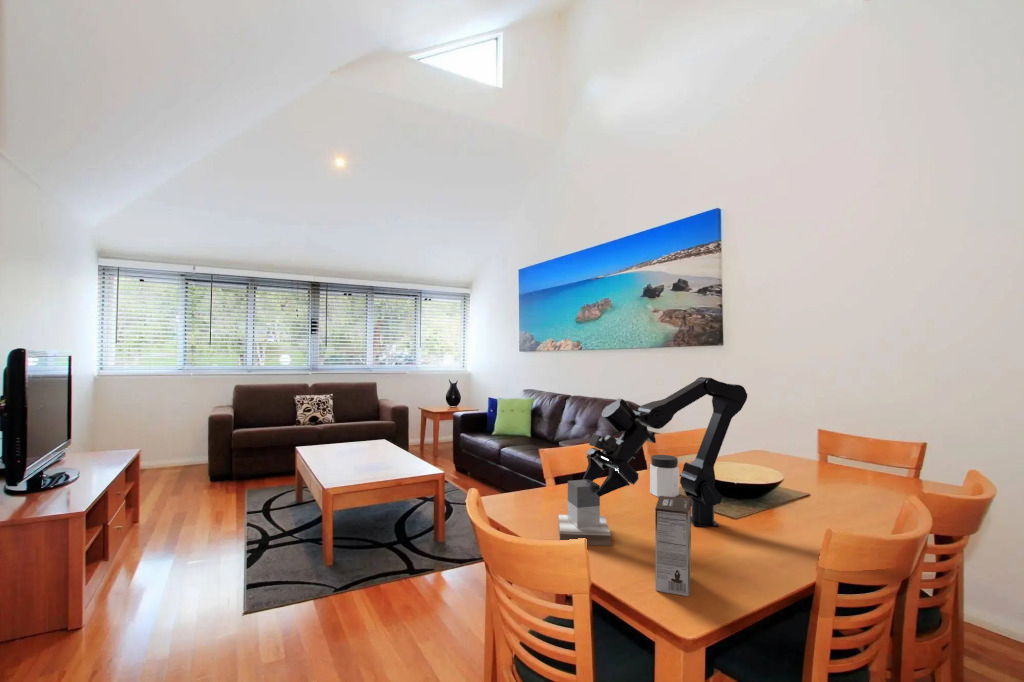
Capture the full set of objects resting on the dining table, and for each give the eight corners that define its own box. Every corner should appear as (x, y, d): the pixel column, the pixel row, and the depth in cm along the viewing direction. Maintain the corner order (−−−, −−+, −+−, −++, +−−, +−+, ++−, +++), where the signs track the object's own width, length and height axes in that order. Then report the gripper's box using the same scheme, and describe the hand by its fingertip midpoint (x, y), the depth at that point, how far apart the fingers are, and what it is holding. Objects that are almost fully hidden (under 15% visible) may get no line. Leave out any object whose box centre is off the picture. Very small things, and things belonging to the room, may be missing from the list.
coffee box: (658, 571, 102) (658, 494, 102) (691, 576, 99) (691, 498, 100) (654, 591, 93) (654, 507, 94) (690, 597, 91) (690, 511, 91)
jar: (669, 500, 151) (669, 461, 151) (645, 494, 157) (646, 457, 157) (682, 494, 157) (682, 457, 158) (660, 489, 163) (660, 453, 163)
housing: (589, 518, 125) (589, 479, 125) (599, 526, 119) (599, 485, 120) (567, 520, 123) (567, 480, 124) (577, 528, 118) (577, 487, 118)
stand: (610, 545, 115) (610, 532, 115) (559, 543, 116) (560, 531, 116) (604, 527, 127) (604, 515, 127) (558, 525, 128) (558, 514, 128)
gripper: (592, 417, 133) (555, 460, 130) (626, 428, 115) (584, 478, 112) (618, 445, 135) (582, 488, 132) (656, 459, 117) (615, 509, 114)
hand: (589, 490), depth 122 cm, fingers open, 9 cm apart
